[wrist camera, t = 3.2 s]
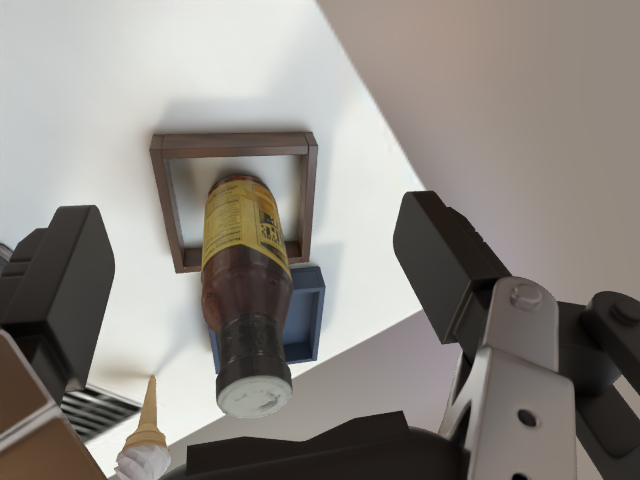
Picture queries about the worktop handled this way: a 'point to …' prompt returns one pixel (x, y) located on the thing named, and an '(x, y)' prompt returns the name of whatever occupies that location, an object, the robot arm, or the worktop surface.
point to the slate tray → (297, 319)
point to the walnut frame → (232, 147)
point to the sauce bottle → (246, 296)
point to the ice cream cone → (145, 445)
